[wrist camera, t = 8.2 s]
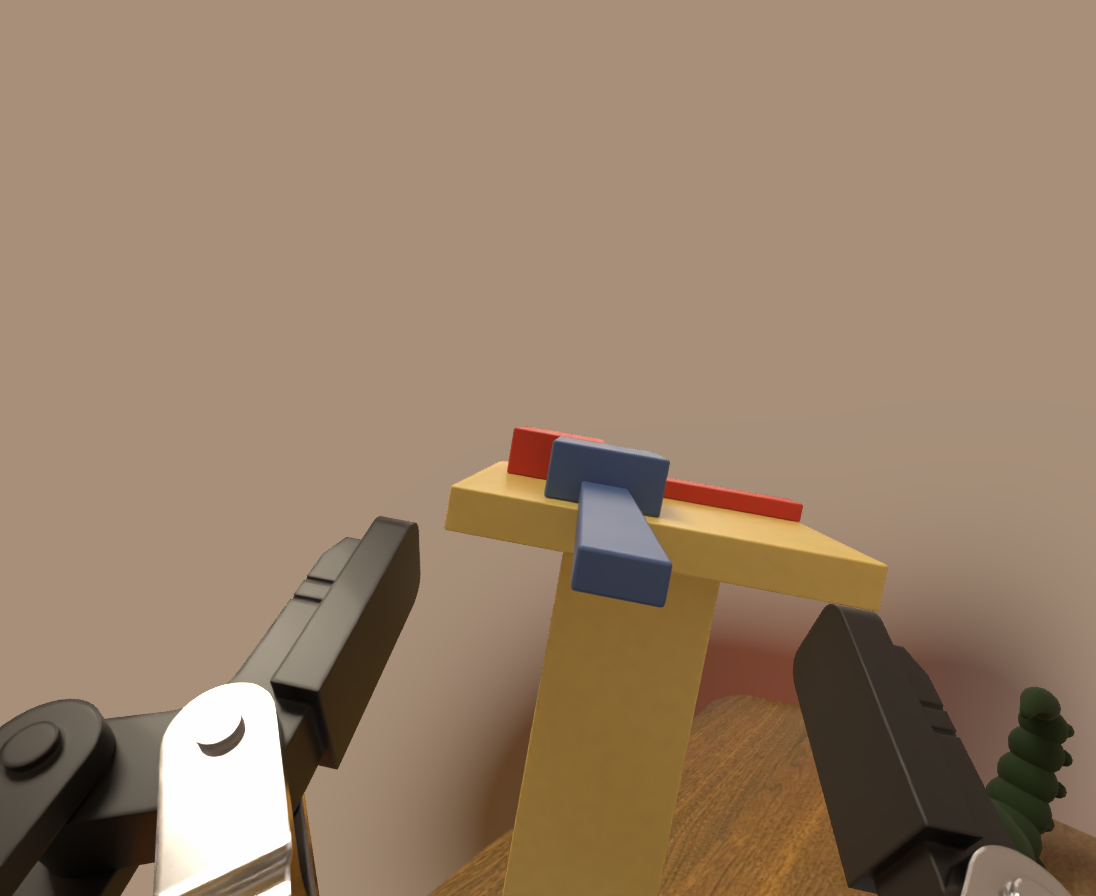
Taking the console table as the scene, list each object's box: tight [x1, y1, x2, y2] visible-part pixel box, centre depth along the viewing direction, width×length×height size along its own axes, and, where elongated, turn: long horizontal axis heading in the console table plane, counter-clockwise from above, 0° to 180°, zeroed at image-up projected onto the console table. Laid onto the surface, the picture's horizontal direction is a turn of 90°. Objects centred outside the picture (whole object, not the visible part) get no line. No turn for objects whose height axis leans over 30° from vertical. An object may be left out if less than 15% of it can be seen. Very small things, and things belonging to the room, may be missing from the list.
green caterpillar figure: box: [986, 687, 1074, 870], centre depth 44 cm, size 9×19×25 cm
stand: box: [444, 461, 888, 896], centre depth 22 cm, size 14×10×32 cm
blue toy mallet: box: [544, 436, 672, 607], centre depth 15 cm, size 4×13×2 cm, turn 176°
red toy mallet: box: [507, 426, 803, 522], centre depth 24 cm, size 4×13×2 cm, turn 86°
